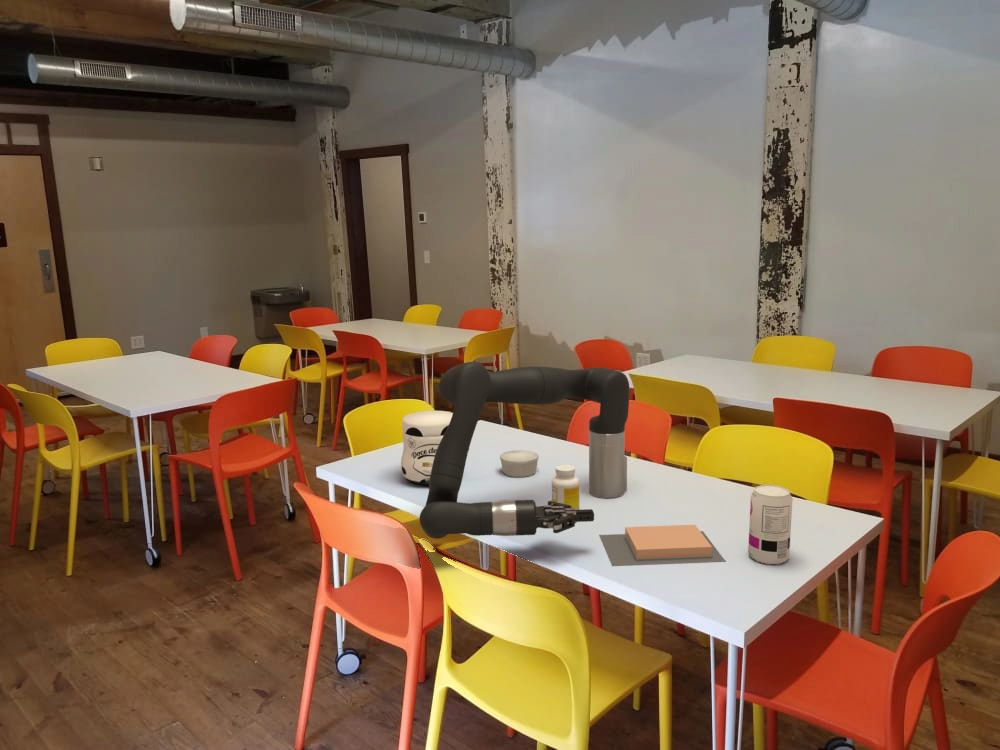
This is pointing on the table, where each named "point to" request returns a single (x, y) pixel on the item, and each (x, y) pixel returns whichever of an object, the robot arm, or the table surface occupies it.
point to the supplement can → (770, 524)
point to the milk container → (422, 443)
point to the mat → (623, 556)
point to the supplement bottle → (566, 486)
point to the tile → (667, 542)
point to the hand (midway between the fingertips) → (593, 515)
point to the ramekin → (519, 463)
